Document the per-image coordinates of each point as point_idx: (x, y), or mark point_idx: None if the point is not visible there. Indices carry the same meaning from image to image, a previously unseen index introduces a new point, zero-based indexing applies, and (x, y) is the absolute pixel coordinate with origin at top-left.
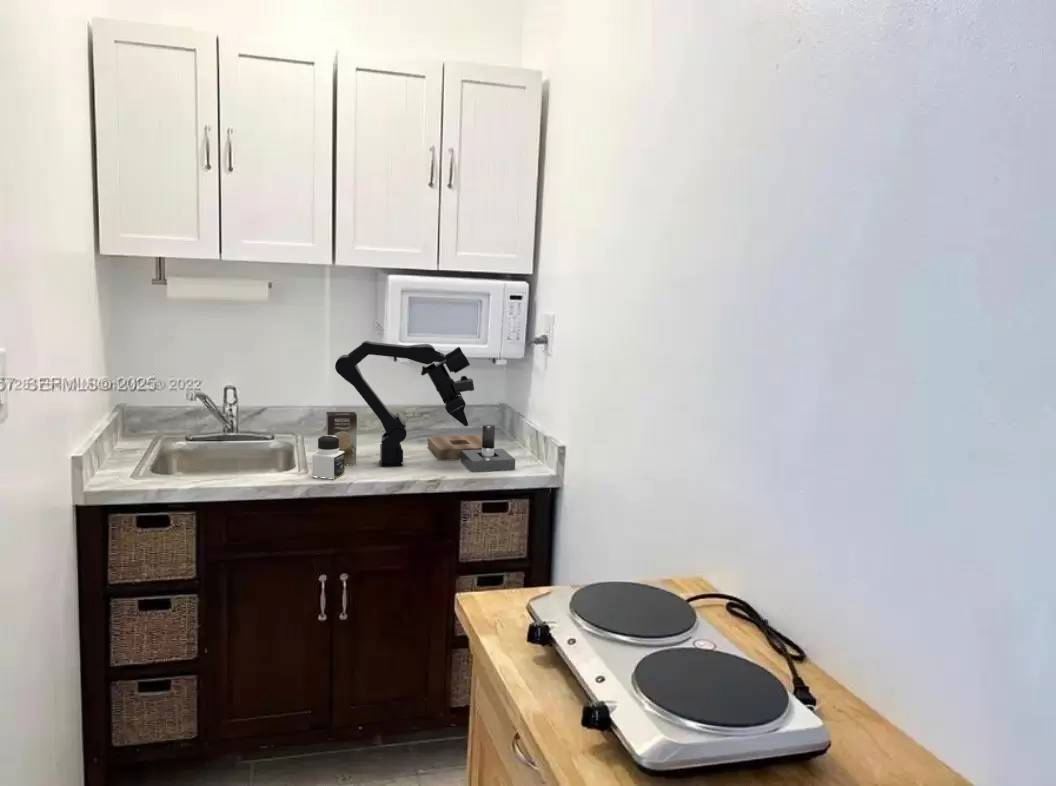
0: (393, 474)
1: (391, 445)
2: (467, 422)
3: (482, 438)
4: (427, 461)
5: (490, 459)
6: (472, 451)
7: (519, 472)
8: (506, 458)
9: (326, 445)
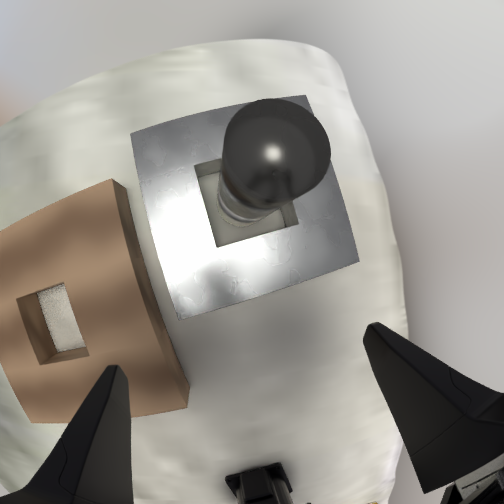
0: (355, 452)
1: None
2: (396, 333)
3: (273, 210)
4: (213, 417)
5: (327, 186)
6: (193, 268)
7: (319, 105)
8: None
9: None
